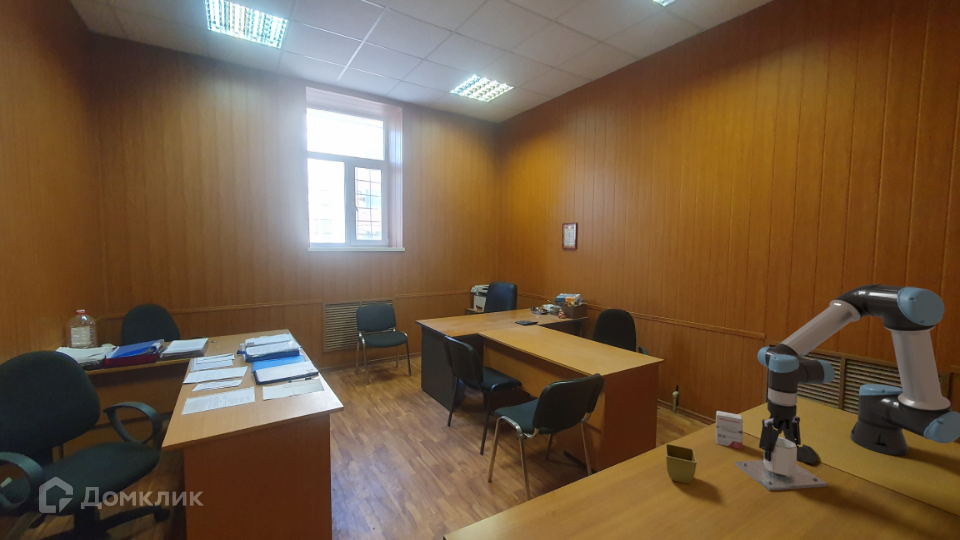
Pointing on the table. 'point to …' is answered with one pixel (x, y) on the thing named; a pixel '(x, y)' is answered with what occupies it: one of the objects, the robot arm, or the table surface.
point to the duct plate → (779, 477)
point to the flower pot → (680, 463)
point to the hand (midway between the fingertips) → (779, 467)
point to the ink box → (729, 429)
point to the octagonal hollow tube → (785, 457)
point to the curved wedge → (806, 455)
